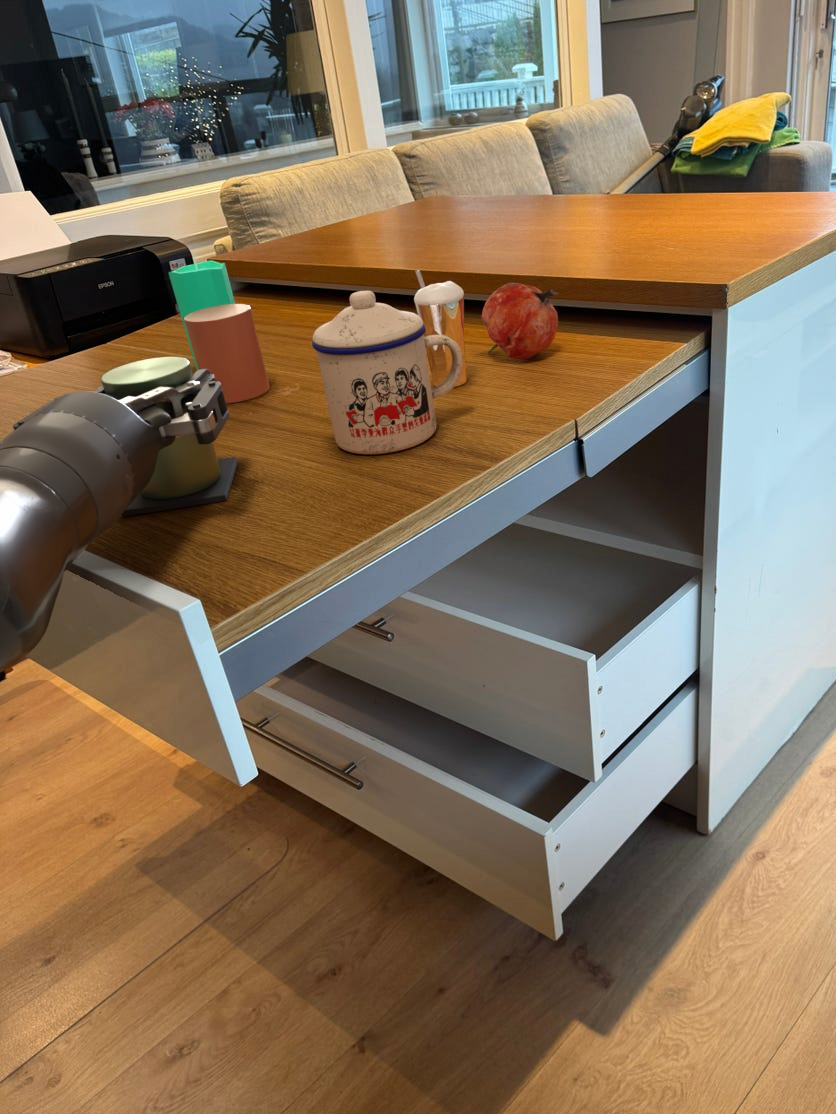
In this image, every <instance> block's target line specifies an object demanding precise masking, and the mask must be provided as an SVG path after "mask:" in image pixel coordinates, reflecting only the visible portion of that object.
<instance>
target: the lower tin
mask: <svg viewBox="0 0 836 1114" xmlns="http://www.w3.org/2000/svg"><path fill="white" fill-rule="evenodd" d="M184 321H185V324H186V328H187V331H188V335H189V338H190V341H191V345H192V348H193V352H194V355H195V359H196V362H197V366H198V369H199V370H201V369H208V370H209V371H210V374H214V376H215V379H216V382H220V383H221V386H222V390H223V393H224V397H225V400H226V404H227V405H228V404H234V403H240V402H241V403H242V402H246V401H249V400H252V399H255V398H258V397H260V396H263V395H264V394H266V393H267V392H268V391H269V390H270V388H271V387H270V386H271V385H270V382H269V378H268V375H267V374H268V373H267V370H266V366H265V361H264V358H263V353H262V350H261V346H260V342H259V337H258V333H257V328H256V325H255V321H254V317H253V312H252V309H251V306H250V305H248V304H244V303H235V304H228V305H220V306H214V307H209V308H205V309H201V310H198V311H195V312H193V313H190V314H188V315H187V316H185V318H184Z"/></svg>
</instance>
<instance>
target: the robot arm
mask: <svg viewBox="0 0 836 1114" xmlns="http://www.w3.org/2000/svg"><path fill="white" fill-rule="evenodd" d="M184 397H186V399H187V402H188V403H186V404H185V406H186V409H187V413H185V414H184V412H183V408H182V405H181V399H182V398H184ZM159 401H161V404H162V407H163V409H161V408H160V407H159V406H158V405H156V404H155V403H157V402H159ZM230 416H231V415H230V411H229V408H228V403H227V404H226V400H225V397H224V393H223V390H222V386H221V383H220V382H216V379H215V376H214V374H210V371H209V370H208V369H201V370H196V371H195V372H194V373H193V375H192V376H191V377H190V378H189V379H188V380H187V381H186V382H185V383H184V384H183V385H181V386H179V387H176V388H171V387H158V388H156V389H154V390H151V391H149V392H147V393H144V394H142V395H140V396H137V397H132V396H128V397H125V398H123V399H121V400H117V399H115V398H113V397H110V396H108V395H106V394H105V391H104V388H103V385H102V384H101V385H100V386H99V387H97V388H95V390H93V391H92V390H78V391H72V392H68V393H65V394H63V395H60V396H57V397H54V399H53V398H52V399H51V400H50V401H48V402H47V403H44V405H42V406H40V407H39V408H37V409H35V410H34V411H33V412H31V413H30V414H28V415H26V416H24V417H23V418H21V419H20V420H18V421H17V422H15V423H14V424H13V425H12V428H13V429H14V430H13V431H12V432H11V433H9V434H7V435H6V436H5V437H4V438H3V439H2V440H1V441H0V673H2V672H4V671H6V670H8V669H9V668H11V667H13V666H14V665H16V664H17V663H18V662H20V661H21V660H22V659H24V658H25V657H27V655H29V654H30V653H31V652H32V651H33V650H34V649H35V648H36V647H37V645H39V643H40V642H41V640H42V639H43V638H44V636H45V634H46V632H47V629H48V627H49V625H50V622H51V618H52V615H53V611H54V608H55V605H56V602H57V597H58V595H59V592H60V590H61V587H62V583H63V578H64V573H65V572H66V571H67V570H68V569H69V568H70V567H71V566H72V564H73V563H74V562H75V561H76V560H77V558H78V557H79V556H80V555H81V554H82V553H84V551H85V549H86V548H87V547H88V546H89V545H90V544H92V543H93V542H94V541H96V540H97V539H99V538H100V537H101V536H103V535H104V534H105V533H106V532H107V531H108V530H109V529H110V528H111V527H112V526H113V525H114V523H116V521H117V520H118V519H119V518H120V517H121V514H122V513H123V512H124V511H125V510H126V509H127V507H128V506H129V505H130V504H131V503H132V502H133V500H134V499H135V498H136V497H137V496H138V495H139V494H140V492H141V491H142V490H143V489H144V488H145V487H146V486H147V484H148V483H149V481H150V480H151V478H152V476H153V473H154V470H155V466H156V461H157V457H158V453H159V451H160V450H161V449H163V448H165V447H167V446H169V445H171V444H172V443H173V442H174V441H175V440H176V439H178V438H180V437H182V436H184V435H188V434H194V436H195V438H197V441H198V443H199V444H210V443H212V442H213V443H214V442H215V441H216V440H217V438H218V437H219V435H220V433H221V432H222V430H223V428H224V426H226V423H227V421H228V419H229V418H230Z"/></svg>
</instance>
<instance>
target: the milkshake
mask: <svg viewBox="0 0 836 1114" xmlns="http://www.w3.org/2000/svg"><path fill="white" fill-rule="evenodd" d="M415 275H416V278H417V280H418V283H419V286H420V289H418V290H417V292H416V293H415V295H414V297H413V302H414V306H415V308H416V309H415V310H416V313H417V314H416V315H418V316H419V317H420V318H421V319H422V321H423V324H424V325H425V327H426V330H425V332H424V334H423V335H424V337H426V336H431V335H444V336H447V337H449V338H451V339H452V340H454V341H455V342H456V343H457V344H458V346H459V348H460V350H461V353H462V370H461V374H460V377H459V380H458V382H457V383H456V385H455V386H454V388H456V387H461V386H462V385H464V384H466V383H467V363H466V362H467V361H466V343H465V342H466V341H465V297H464V295H465V292H464V290H463V288H462V287H461V286H459V284H457V283H455V282H453V281H451V280H447V281H445V282H437V283H431V284H429V285H427V286H426V285H425V282H424V279H423V276H422V273H421V270H420V269H417V270H415ZM425 349H426V356H427V362H428V367H429V371H430V375H431V379H432V384H433V386H434V387H437V386H439V385H440V384H442V383H443V382H444V381H445V380H446V379H447V377H448V375H449V373H450V370H451V366H452V354H451V351H450V349H449V347H448V346H446V345H434V346H430V347H426V348H425Z"/></svg>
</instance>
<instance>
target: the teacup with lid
mask: <svg viewBox="0 0 836 1114" xmlns="http://www.w3.org/2000/svg"><path fill="white" fill-rule="evenodd" d="M349 305H350V306H351V307H349V306H347V307H348V308H347V307H345V308H346V309H345V308H344V310H343V309H342V310H341V311H340V312H339V313H338V314H337V315H336V316H335V317H334V318H333V319H331V321H327V322H326V323H324V324H322V325H320V326H319V327H317V328H316V330H315V331H314V333H313V334H312V341H311V346H312V348H313V350H315V351H316V355H317V360H318V364H319V371H320V375H321V379H322V383H323V388H324V393H325V397H326V402H327V408H328V413H329V416H330V422H331V426H332V431H333V436H334V441H335V443H336V446H338V448H340V449H342V450H343V451H346V452H349V453H352V454H357V455H382V454H383V455H384V454H389V453H390V454H391V453H394V452H399V451H403V450H407V449H410V448H413V447H416V446H418V445H421V444H422V443H424V442H426V441H427V440H428V439H430V438H431V437H432V436H433V435H434V433H435V432H436V429H437V419H436V412H435V405H434V399H438V398H440V397H443V396H445V395H447V394H448V393H450V392H451V391H452V390H453V389H454V388H455V387H454V386H455V385H456V383H457V382H458V380H459V377H460V374H461V370H462V353H461V350H460V348H459V346H458V344H457V343H456V342H455V341H454V340H452V339H451V338H449V337H447V336H444V335H431V336H426V337H424V335H423V334H424V332H425V330H426V327H425V325H424V324H423V321H422V319H421V318H420V317H419V316H418V314H416V313H415V312H411V311H406V310H399V309H397V308H395V307H392V306H391V305H389V304H387V303H382V302H376V295H375V293H374V292H373V291H371V290H360V291H359V290H358V291H356V292H353V293H351V294H350V296H349ZM434 345H446V346H448V347H449V349H450V351H451V354H452V366H451V370H450V373H449V375H448V377H447V379H446V380H445V381H444V382H443V383H442V384H440V385H439V386H437V387H435V386H434V387H432V385H431V383H432V382H431V378H430V369H429V362H428V356H427V352H426V347H430V346H434Z"/></svg>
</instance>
